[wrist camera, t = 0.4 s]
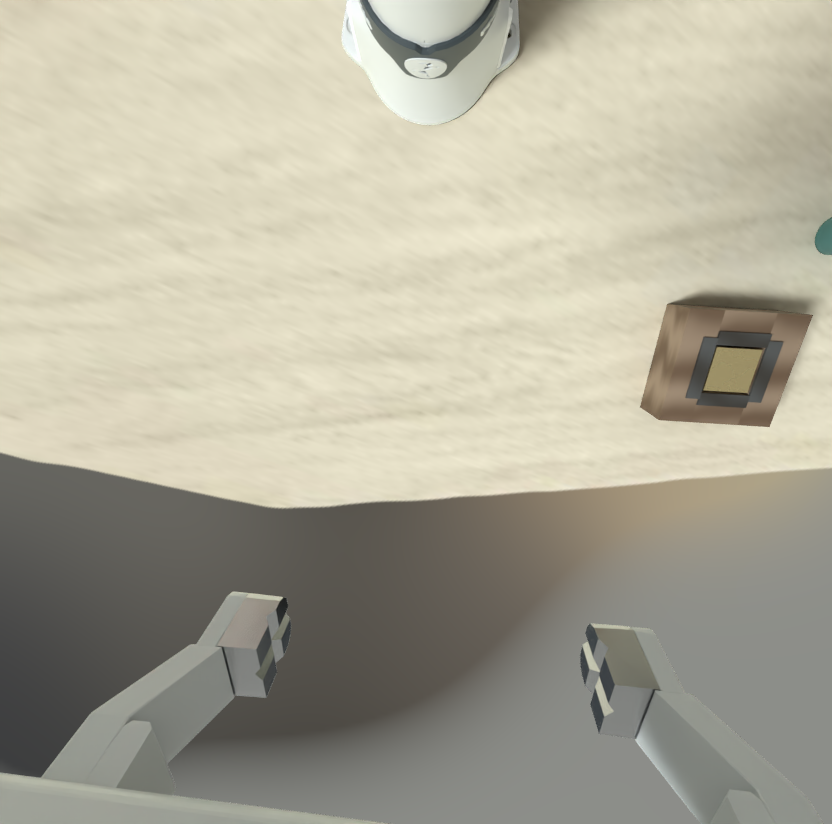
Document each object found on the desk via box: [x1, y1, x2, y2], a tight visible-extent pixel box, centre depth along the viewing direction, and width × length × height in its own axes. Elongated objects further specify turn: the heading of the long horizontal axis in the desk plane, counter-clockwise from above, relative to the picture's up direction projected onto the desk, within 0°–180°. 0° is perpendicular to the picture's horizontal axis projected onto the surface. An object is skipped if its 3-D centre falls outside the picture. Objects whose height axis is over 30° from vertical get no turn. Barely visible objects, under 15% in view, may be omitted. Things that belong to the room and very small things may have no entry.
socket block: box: [640, 304, 813, 427], centre depth 51 cm, size 14×14×5 cm
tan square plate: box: [702, 346, 763, 393], centre depth 50 cm, size 5×5×1 cm
